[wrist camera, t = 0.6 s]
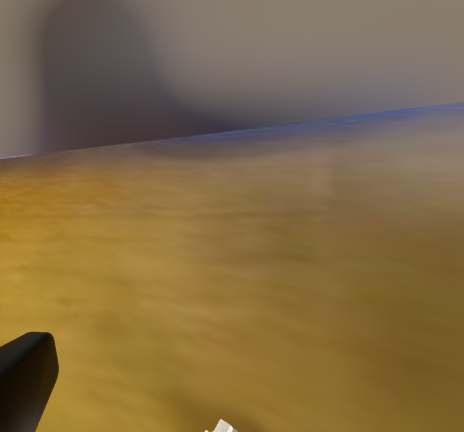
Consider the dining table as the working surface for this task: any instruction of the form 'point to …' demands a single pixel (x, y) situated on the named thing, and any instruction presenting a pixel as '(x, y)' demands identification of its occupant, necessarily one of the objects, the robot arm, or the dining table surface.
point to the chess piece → (223, 427)
